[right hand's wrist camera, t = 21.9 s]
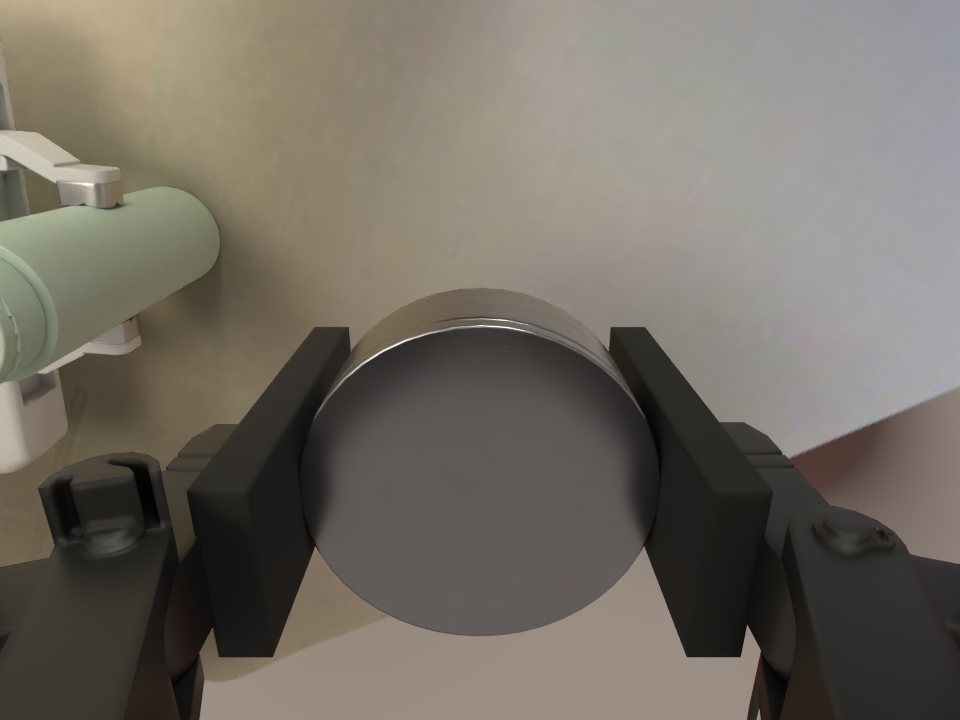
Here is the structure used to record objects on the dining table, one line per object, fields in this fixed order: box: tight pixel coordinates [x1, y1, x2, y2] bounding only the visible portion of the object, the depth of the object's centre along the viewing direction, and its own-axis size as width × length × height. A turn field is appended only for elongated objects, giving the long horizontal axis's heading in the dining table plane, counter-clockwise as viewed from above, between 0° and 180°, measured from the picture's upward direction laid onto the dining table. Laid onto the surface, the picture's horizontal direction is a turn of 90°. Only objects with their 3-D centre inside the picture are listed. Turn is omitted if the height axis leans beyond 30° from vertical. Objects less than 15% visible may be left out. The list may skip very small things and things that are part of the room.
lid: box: [299, 288, 661, 636], centre depth 11 cm, size 6×6×2 cm
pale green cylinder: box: [0, 186, 220, 385], centre depth 25 cm, size 5×5×15 cm
